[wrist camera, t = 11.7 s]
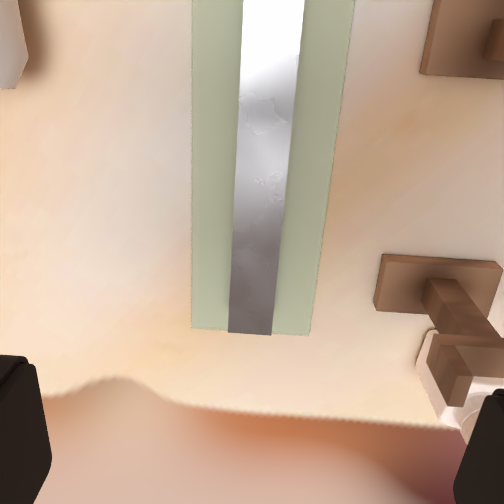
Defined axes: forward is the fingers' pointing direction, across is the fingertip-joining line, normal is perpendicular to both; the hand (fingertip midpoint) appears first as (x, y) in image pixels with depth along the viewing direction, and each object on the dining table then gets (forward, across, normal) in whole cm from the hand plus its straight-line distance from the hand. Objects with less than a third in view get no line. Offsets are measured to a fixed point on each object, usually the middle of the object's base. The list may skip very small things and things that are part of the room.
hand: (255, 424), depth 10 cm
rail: (+22, 0, 0) cm, 22 cm away
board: (+22, 0, 0) cm, 22 cm away
